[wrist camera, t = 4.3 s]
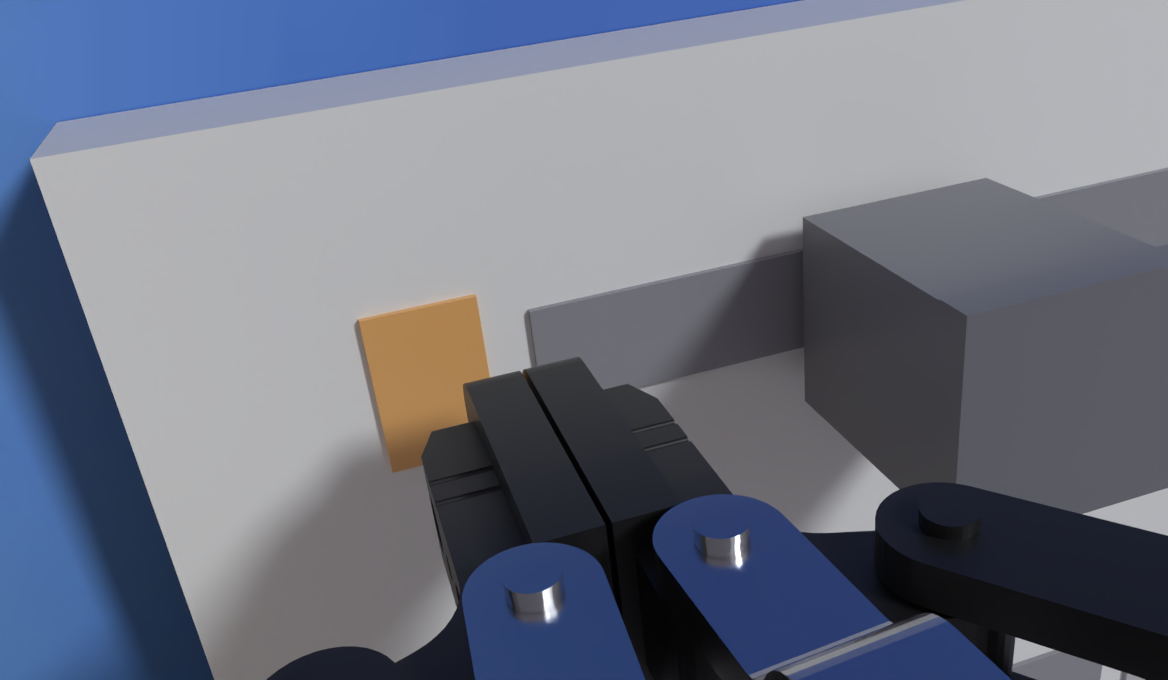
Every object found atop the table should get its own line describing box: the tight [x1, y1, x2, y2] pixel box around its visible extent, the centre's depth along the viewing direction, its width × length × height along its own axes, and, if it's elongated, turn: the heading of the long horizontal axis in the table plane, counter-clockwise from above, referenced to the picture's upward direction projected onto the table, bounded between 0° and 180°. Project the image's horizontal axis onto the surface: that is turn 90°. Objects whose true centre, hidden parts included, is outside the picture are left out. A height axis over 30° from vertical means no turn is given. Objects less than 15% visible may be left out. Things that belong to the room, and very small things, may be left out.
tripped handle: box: [803, 178, 1168, 514], centre depth 14 cm, size 3×3×4 cm
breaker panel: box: [30, 0, 1168, 680], centre depth 19 cm, size 21×18×2 cm
